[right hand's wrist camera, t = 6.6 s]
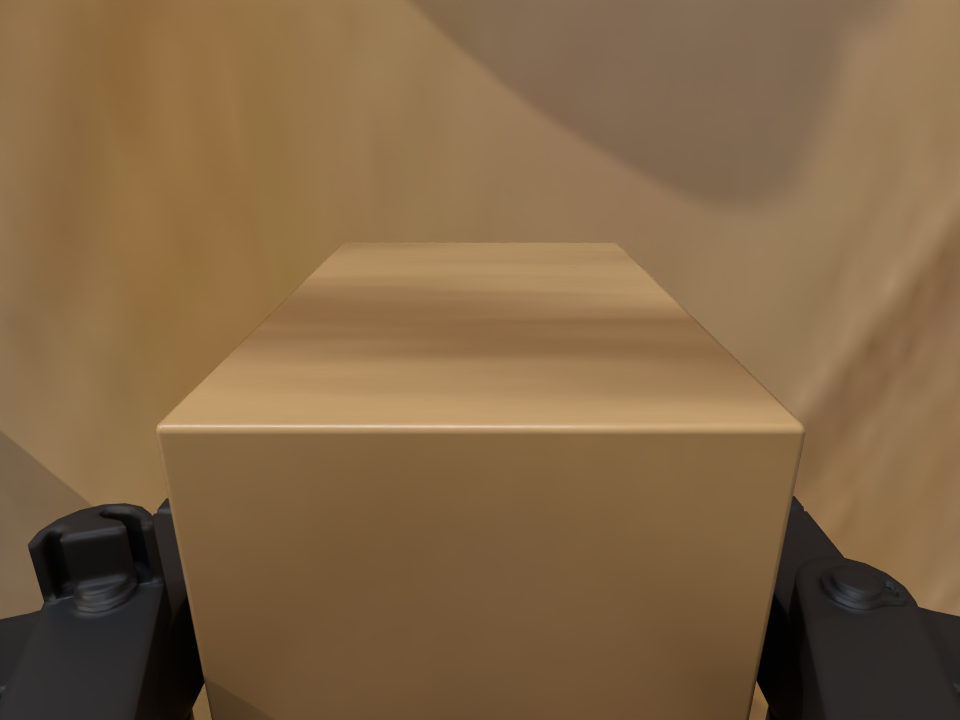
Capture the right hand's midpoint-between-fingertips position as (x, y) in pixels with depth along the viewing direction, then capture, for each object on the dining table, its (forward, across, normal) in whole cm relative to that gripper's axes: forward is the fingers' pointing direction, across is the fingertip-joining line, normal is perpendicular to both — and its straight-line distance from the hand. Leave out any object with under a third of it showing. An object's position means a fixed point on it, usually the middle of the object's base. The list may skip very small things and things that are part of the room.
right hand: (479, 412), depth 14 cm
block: (+1, 0, -14) cm, 14 cm away
